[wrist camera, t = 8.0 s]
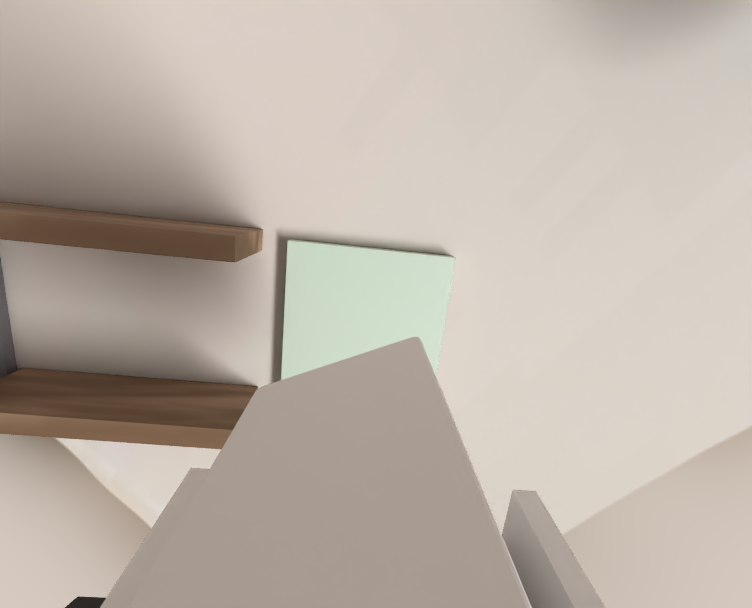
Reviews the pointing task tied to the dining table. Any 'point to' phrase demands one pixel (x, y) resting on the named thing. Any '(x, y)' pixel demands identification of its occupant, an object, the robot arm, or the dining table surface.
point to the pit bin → (5, 335)
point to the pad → (360, 302)
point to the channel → (112, 392)
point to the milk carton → (340, 501)
